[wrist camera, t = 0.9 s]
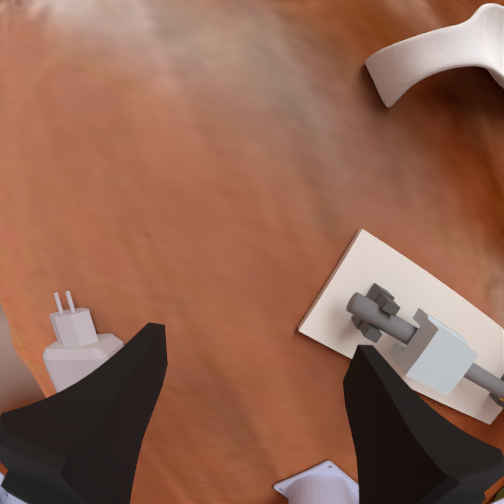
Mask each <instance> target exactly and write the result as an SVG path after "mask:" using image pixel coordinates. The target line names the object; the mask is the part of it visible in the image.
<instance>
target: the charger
mask: <svg viewBox="0 0 504 504" xmlns="http://www.w3.org/2000/svg"><path fill="white" fill-rule="evenodd" d="M54 296H55V300H56V303H57V307H58V310H59V312H55V313H52V314H49V316H50V320H51V323H52V326H53V329H54V332H55V335H56V338H57V341H56V342H54V343H52V344H51V345H49V346H48V347H46V348H45V351H44V354H43V356H42V358H43V361H44V363H45V366H46V368H47V371H48V373H49V375H50V378H51V380H52V382H53V385H54V387H55V389H56V391H57V393H58V392H60V391H62V390H64V389H66V388H68V387H69V386H71V385H73V384H75V383H76V382H78V381H79V380H81V379H83V378H84V377H86V376H87V375H88V374H90V373H91V372H93V371H94V370H95V369H97V368H98V367H99V366H101V365H102V364H103V363H104V362H106V361H107V360H108V359H109V358H111V357H112V356H113V355H114V354H115V353H116V352H118V351H119V350H120V349H121V348H122V347H123V346H124V343H123V341H122V340H120V339H119V338H117V337H116V336H114V335H113V334H96V332H95V328H94V325H93V322H92V319H91V316H90V312H89V309H86V308H77V309H75V308H74V304H73V301H72V297H71V294H70V291H66V296H67V300H68V303H69V307H70V309H69V310H63V309H62V305H61V302H60V298H59V295H58V293H55V294H54Z"/></svg>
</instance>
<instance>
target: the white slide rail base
mask: <svg viewBox="0 0 504 504" xmlns="http://www.w3.org/2000/svg"><path fill="white" fill-rule="evenodd" d="M418 308H421V309H422V310H424V311H425V312H427V313H428V314H430V315H431V316H433V317H435V318H436V319H438V320H439V321H441V322H442V323H444V324H445V325H447V326H448V327H450V328H451V329H453V330H454V331H456V332H457V333H459V334H460V335H461V336H462V337H463V338H464V339H465V340H467V343H466V344H467V345H469V346H470V347H471V348H472V349H473V350H474V351H475V352H476V353H477V354H478V356H477V358H476V359H475V361H474V362H473V363H472V365H471V366H470V368H469V369H468V370H467V372H466V373H465V375H464V376H463V377H462V379H461V380H460V381H459V383H458V384H457V385H456V386H455V388H454V389H453V390H452V392H451V393H450V394H449V395H448V396H446V395H444V394H442V393H440V392H438V391H436V390H434V389H432V388H430V387H428V386H426V385H424V384H422V383H420V382H418V381H416V380H414V379H412V378H410V377H408V376H406V375H405V373H404V372H403V370H402V369H401V367H400V365H398V364H396V363H395V362H394V360H393V359H392V357H391V355H390V354H389V351H390V349H391V348H392V347H393V345H394V344H395V342H396V343H398V344H399V345H401V346H403V347H406V346H407V345H408V343H409V342H410V340H411V339H412V337H413V336H414V335H415V333H416V332H417V330H418V329H419V327H420V325H419V324H418V323H417V322H416V321H415V320H414V319H413V316H414V314H415V313H416V311H417V310H418ZM298 331H300V332H301V333H303V334H305V335H307V336H309V337H311V338H313V339H314V340H316V341H318V342H320V343H322V344H324V345H326V346H328V347H330V348H331V349H333V350H335V351H337V352H339V353H341V354H343V355H345V356H347V357H349V358H351V359H352V358H353V356H354V353H355V351H356V348H357V345H358V344H359V345H373V346H374V347H375V348H376V349H377V351H378V352H379V353H380V354H381V355H382V356H383V357H384V359H385V360H386V361H387V362H388V363H389V364H390V366H391V367H392V368H393V369H394V370H395V371H396V372H397V374H398V375H399V376H400V377H401V378H402V379H403V380H404V381H405V382H406V384H407V385H408V386H409V387H410V388H411V389H413V390H415V391H417V392H419V393H421V394H423V395H426V396H428V397H430V398H432V399H434V400H436V401H438V402H441V403H443V404H445V405H447V406H449V407H451V408H454V409H456V410H458V411H460V412H462V413H465V414H467V415H469V416H471V417H474V418H476V419H478V420H480V421H483V422H485V423H487V424H491V423H492V422H493V421H494V419H495V418H496V417H497V416H498V414H499V413H500V412H501V411H502V409H504V329H503V328H502V327H500V326H499V325H498V324H497V323H495V322H494V321H493V320H491V319H490V318H489V317H488V316H486V315H485V314H484V313H482V312H481V311H480V310H479V309H477V308H476V307H475V306H473V305H472V304H471V303H469V302H468V301H467V300H465V299H464V298H463V297H461V296H460V295H458V294H457V293H456V292H454V291H453V290H452V289H450V288H449V287H448V286H446V285H445V284H443V283H442V282H441V281H439V280H438V279H436V278H435V277H434V276H432V275H431V274H429V273H428V272H426V271H425V270H424V269H422V268H421V267H419V266H418V265H416V264H415V263H413V262H412V261H410V260H409V259H407V258H406V257H405V256H403V255H402V254H400V253H399V252H397V251H396V250H394V249H393V248H391V247H390V246H388V245H386V244H385V243H383V242H382V241H380V240H379V239H377V238H376V237H374V236H373V235H371V234H369V233H368V232H366V231H365V230H363V229H361V228H359V229H358V231H357V233H356V235H355V236H354V238H353V240H352V241H351V243H350V245H349V246H348V248H347V250H346V252H345V253H344V255H343V257H342V258H341V260H340V261H339V263H338V265H337V266H336V268H335V270H334V271H333V273H332V275H331V276H330V278H329V279H328V281H327V283H326V284H325V286H324V287H323V289H322V291H321V292H320V294H319V295H318V297H317V298H316V300H315V301H314V303H313V305H312V306H311V308H310V309H309V311H308V312H307V314H306V315H305V317H304V318H303V320H302V321H301V323H300V324H299V326H298Z"/></svg>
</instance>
